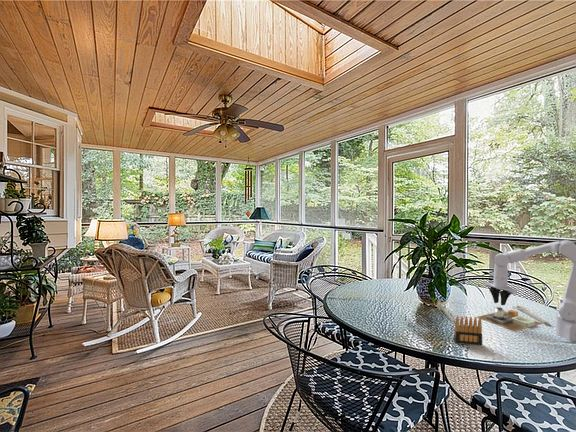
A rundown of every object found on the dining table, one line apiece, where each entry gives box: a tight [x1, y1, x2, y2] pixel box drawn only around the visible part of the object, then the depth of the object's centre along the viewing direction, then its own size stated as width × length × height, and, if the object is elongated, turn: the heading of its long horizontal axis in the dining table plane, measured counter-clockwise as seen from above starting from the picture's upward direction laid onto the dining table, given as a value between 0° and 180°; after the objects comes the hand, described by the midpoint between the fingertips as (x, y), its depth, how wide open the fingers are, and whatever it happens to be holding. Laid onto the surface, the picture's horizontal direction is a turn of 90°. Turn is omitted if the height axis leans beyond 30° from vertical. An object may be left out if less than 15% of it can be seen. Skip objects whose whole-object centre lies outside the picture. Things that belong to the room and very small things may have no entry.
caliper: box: [437, 299, 456, 325], centre depth 156 cm, size 20×1×6 cm, turn 174°
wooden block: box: [504, 309, 519, 320], centre depth 150 cm, size 3×10×3 cm, turn 113°
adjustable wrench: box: [512, 305, 551, 327], centre depth 156 cm, size 25×6×2 cm, turn 168°
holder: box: [476, 310, 544, 333], centre depth 148 cm, size 18×23×3 cm
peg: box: [494, 306, 505, 320], centre depth 147 cm, size 4×4×7 cm
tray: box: [511, 315, 536, 328], centre depth 144 cm, size 7×7×2 cm
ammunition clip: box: [453, 315, 483, 346], centre depth 126 cm, size 11×2×12 cm, turn 77°
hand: (499, 303), depth 146 cm, fingers open, 3 cm apart
